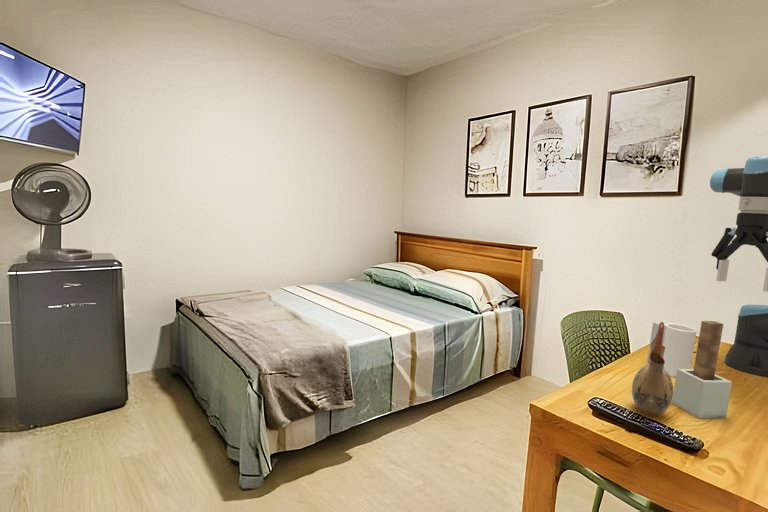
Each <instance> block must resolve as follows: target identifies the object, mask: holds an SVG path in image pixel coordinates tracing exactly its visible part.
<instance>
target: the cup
mask: <svg viewBox="0 0 768 512" xmlns="http://www.w3.org/2000/svg"><path fill="white" fill-rule="evenodd" d="M696 336H697V328H694V327H692V326H687V325H684V324H680V325H679V323H677V324H667V325H666V331H665V338H664V344H663V346H664V347H665V351H664V355H663V358H664V360H665V364H664V369H665V371H666V372H667V373H668V374H669V376H670V377H673V378H676V374H677V369H692V363H693V362H692V361H693V355H694V349H695V345H696V344H695V343H696V338H697V337H696Z"/></svg>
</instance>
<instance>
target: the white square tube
mask: <svg viewBox="0 0 768 512" xmlns="http://www.w3.org/2000/svg"><path fill="white" fill-rule="evenodd" d="M693 370H694V368H691V369H677V374H676V377H675V380H674V381H675V382H674V385H673V397H672V401H671V403H672V404H674V405H675V406H677V407H679V408H680V409H682V410H684V411H685V412H687V413H689V414H690V415H692V416H693V417H695V418H697V419H725V418H727V415H728V414H727V413H728V408H729V402H730V397H731V392H732V387H733V382H732V381H730V380H729V379H726V378H724V377H722V376H720V375H718V374H716V373H715V376H714V380H703V379H701V378H699V377H696V376H694V375H693Z"/></svg>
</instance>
